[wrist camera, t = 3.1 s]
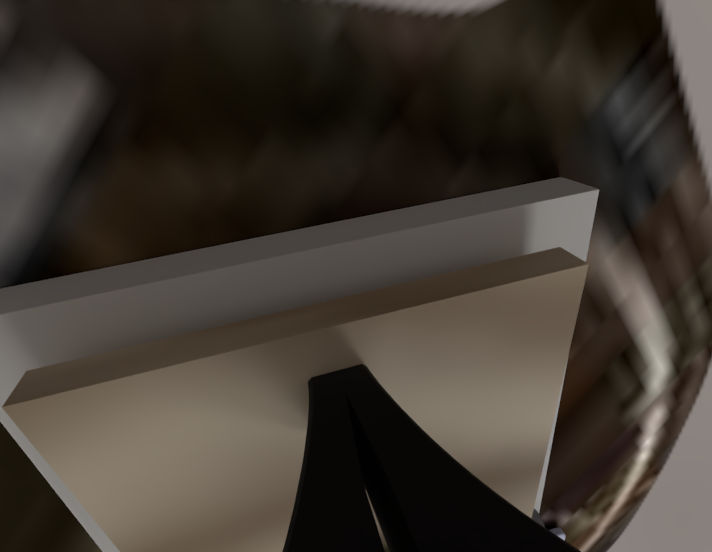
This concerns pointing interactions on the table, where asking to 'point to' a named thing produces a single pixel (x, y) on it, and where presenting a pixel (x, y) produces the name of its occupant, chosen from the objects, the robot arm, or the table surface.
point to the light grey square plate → (276, 284)
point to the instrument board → (304, 401)
